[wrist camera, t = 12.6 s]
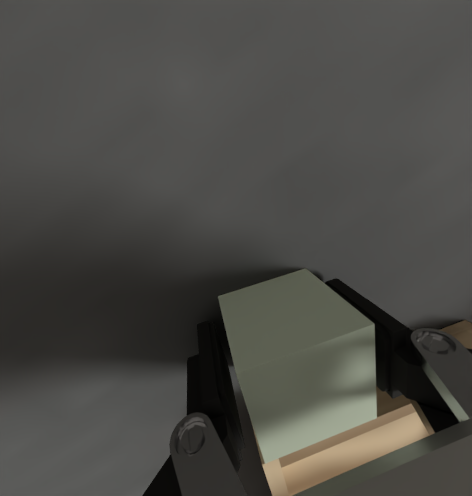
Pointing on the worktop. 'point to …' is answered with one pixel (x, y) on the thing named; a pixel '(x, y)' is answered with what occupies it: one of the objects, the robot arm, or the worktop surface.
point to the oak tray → (354, 440)
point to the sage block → (300, 361)
